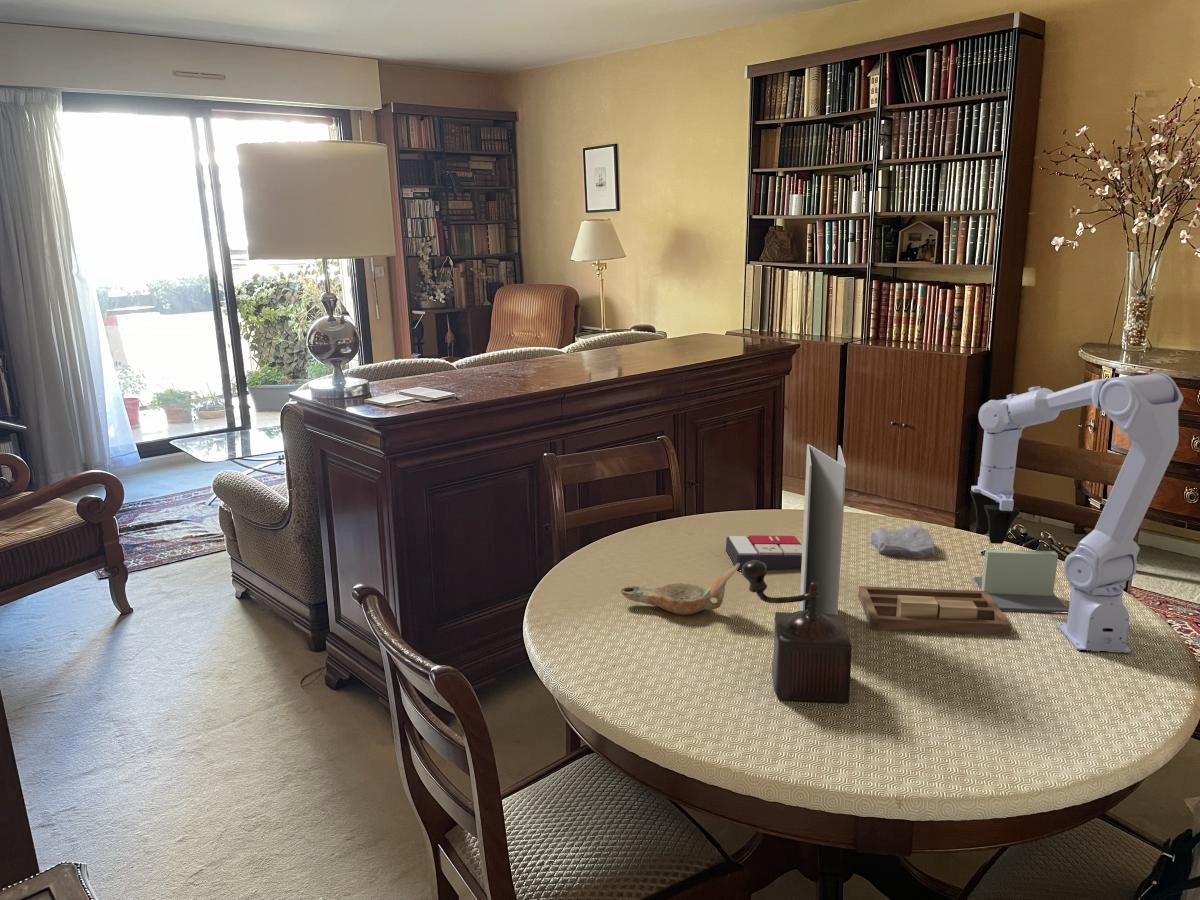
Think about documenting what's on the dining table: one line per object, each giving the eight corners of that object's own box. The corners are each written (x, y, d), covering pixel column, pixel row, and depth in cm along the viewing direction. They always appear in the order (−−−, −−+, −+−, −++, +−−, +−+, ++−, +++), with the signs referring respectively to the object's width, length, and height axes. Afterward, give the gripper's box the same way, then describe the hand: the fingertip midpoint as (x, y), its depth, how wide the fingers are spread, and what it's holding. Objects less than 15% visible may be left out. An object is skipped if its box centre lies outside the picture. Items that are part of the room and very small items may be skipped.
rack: (1009, 635, 142) (1011, 624, 142) (871, 629, 145) (871, 618, 145) (985, 601, 155) (986, 591, 155) (858, 596, 158) (859, 586, 158)
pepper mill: (839, 666, 133) (845, 558, 129) (850, 705, 122) (858, 588, 118) (738, 662, 135) (741, 555, 130) (740, 699, 124) (744, 584, 120)
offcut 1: (935, 628, 146) (938, 604, 144) (899, 626, 146) (901, 602, 145) (931, 620, 148) (933, 596, 147) (895, 619, 149) (897, 595, 148)
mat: (1068, 613, 150) (1069, 610, 150) (996, 610, 152) (997, 607, 151) (1039, 582, 163) (1040, 579, 163) (974, 579, 165) (974, 576, 165)
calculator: (812, 552, 171) (738, 552, 170) (809, 572, 172) (736, 572, 171) (796, 533, 182) (726, 533, 180) (794, 553, 183) (724, 552, 182)
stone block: (938, 566, 177) (924, 541, 186) (940, 547, 174) (926, 521, 183) (879, 568, 178) (868, 542, 187) (881, 548, 176) (870, 523, 184)
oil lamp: (735, 626, 147) (736, 572, 145) (615, 613, 153) (614, 561, 150) (740, 605, 155) (742, 554, 153) (626, 594, 161) (626, 544, 158)
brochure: (835, 642, 141) (846, 467, 133) (801, 640, 142) (809, 465, 134) (831, 606, 154) (840, 445, 147) (799, 604, 155) (807, 444, 148)
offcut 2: (975, 630, 145) (977, 608, 144) (938, 628, 145) (940, 607, 144) (970, 622, 148) (972, 601, 147) (934, 620, 148) (936, 599, 147)
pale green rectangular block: (1052, 595, 156) (1058, 554, 154) (983, 593, 157) (988, 552, 155) (1049, 592, 157) (1054, 551, 155) (981, 589, 159) (985, 549, 157)
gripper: (964, 453, 162) (957, 521, 166) (986, 475, 148) (978, 548, 152) (1003, 454, 161) (995, 522, 165) (1029, 476, 147) (1020, 550, 151)
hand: (990, 535), depth 158 cm, fingers open, 7 cm apart
